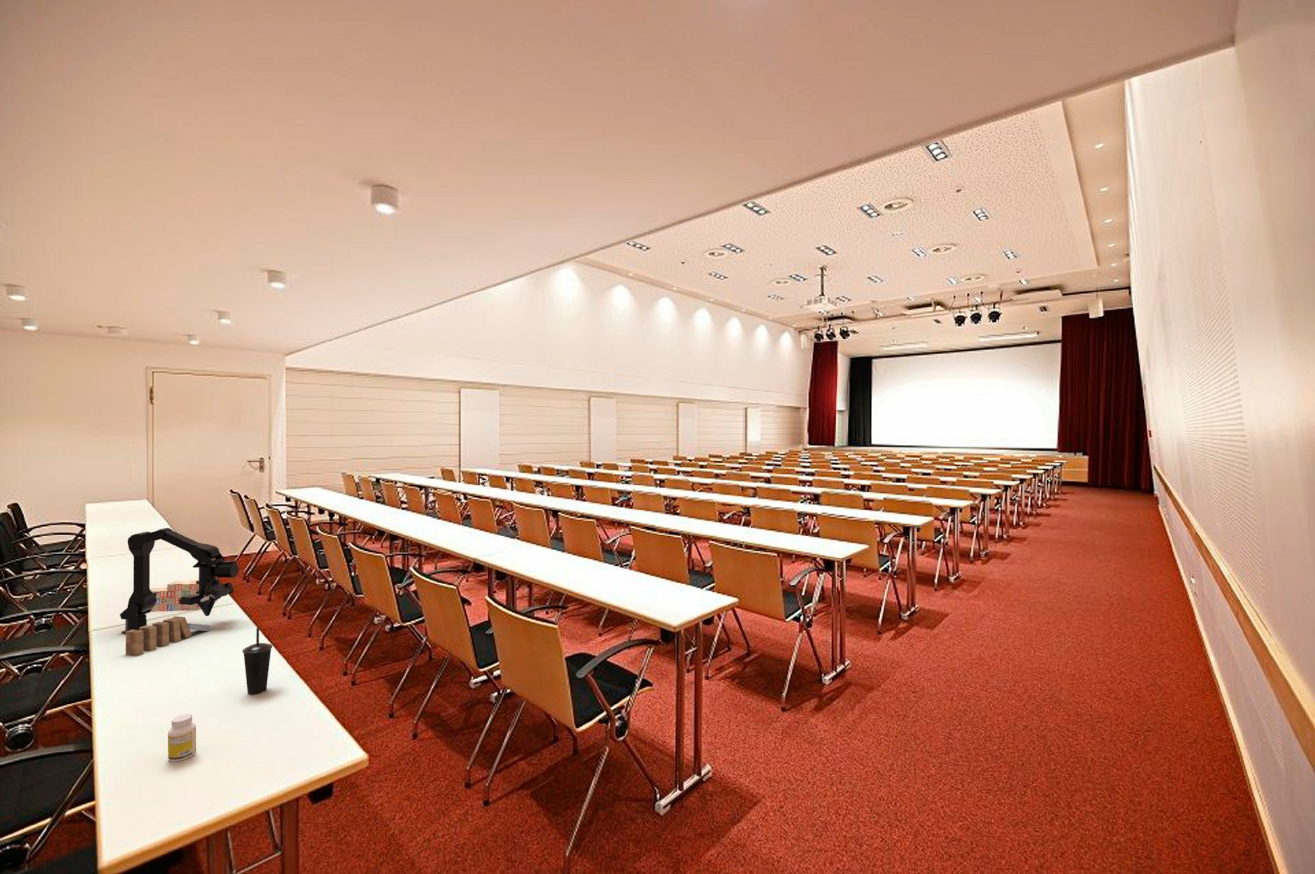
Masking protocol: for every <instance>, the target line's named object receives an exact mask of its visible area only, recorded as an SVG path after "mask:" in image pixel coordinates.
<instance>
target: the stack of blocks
mask: <svg viewBox="0 0 1315 874" xmlns="http://www.w3.org/2000/svg"><path fill="white" fill-rule="evenodd" d="M196 581H199V579H197V580H196V579H193V580H175V581H173V582H169V583H168V584H167V585H166V587H153V588H150V590H151V591H152V593H154V592H156V593H157V595H156V600H157V602H155V606H154V607H153V608H152V609H151V611H150V612H175V611H179V612H180V611H181V612H184V611H188V612H190V611H198V610H200V609H201V608H200V607H199V605H198V604H193V605H184V604H179V600H180V598H181V597H183V596H187V595H199V594H196V591H199V584H196ZM204 596H205V595H204Z"/></svg>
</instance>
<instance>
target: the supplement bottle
mask: <svg viewBox="0 0 1315 874" xmlns="http://www.w3.org/2000/svg"><path fill="white" fill-rule="evenodd" d="M170 725H171V727H170V728H169V729H168V732H167V751H168V752H167V759H168V761H169V762H173V763H176V762H181V761H185V760H187V759H190V758H191V757H193V756H194V755H195V754H196V753H197V726H196V724H195V723H194V722H193V715H192V713H184V714H180V715H177V716H175V717H173V718H172V719H171V724H170Z"/></svg>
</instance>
